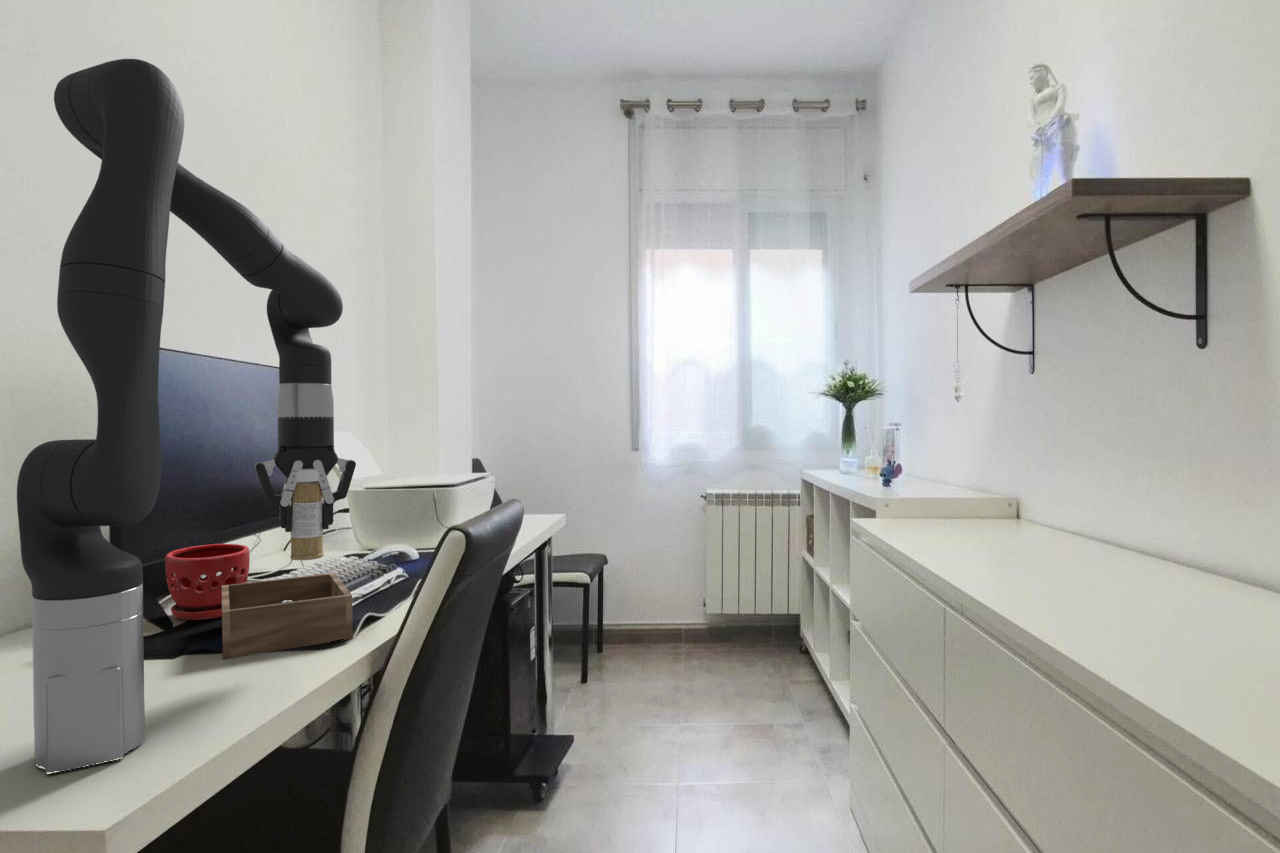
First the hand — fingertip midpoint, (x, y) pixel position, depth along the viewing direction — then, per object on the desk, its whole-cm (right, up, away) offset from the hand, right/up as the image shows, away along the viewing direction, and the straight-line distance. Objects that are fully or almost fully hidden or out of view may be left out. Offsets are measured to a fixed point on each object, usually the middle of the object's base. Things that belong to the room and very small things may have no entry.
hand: (307, 529), depth 102 cm
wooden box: (-10, -19, +13) cm, 25 cm away
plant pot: (-30, -19, +24) cm, 43 cm away
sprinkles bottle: (0, -4, 0) cm, 4 cm away
